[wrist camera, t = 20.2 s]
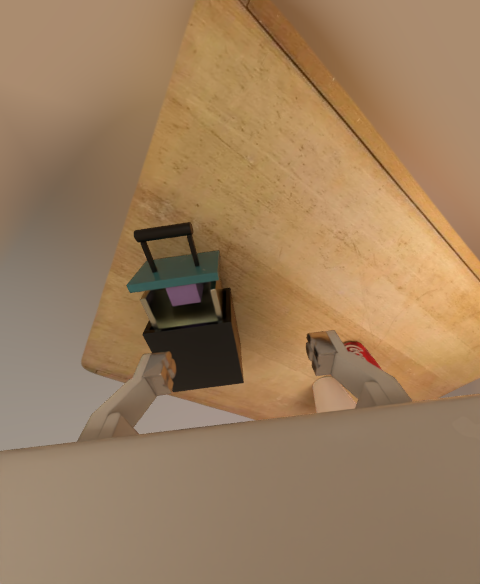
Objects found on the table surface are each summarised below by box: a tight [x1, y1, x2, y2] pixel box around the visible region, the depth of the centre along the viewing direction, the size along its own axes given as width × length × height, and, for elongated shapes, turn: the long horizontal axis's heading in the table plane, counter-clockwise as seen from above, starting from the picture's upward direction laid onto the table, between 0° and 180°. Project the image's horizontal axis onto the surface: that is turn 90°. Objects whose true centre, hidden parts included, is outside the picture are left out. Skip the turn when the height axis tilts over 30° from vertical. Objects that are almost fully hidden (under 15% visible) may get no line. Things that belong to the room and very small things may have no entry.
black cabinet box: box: [143, 288, 244, 392], centre depth 37 cm, size 15×13×10 cm
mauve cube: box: [166, 283, 203, 306], centre depth 32 cm, size 4×4×4 cm
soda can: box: [344, 342, 382, 370], centre depth 43 cm, size 7×7×12 cm
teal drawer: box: [126, 222, 226, 329], centre depth 31 cm, size 19×12×8 cm, turn 7°
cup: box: [313, 377, 356, 413], centre depth 50 cm, size 12×12×12 cm
